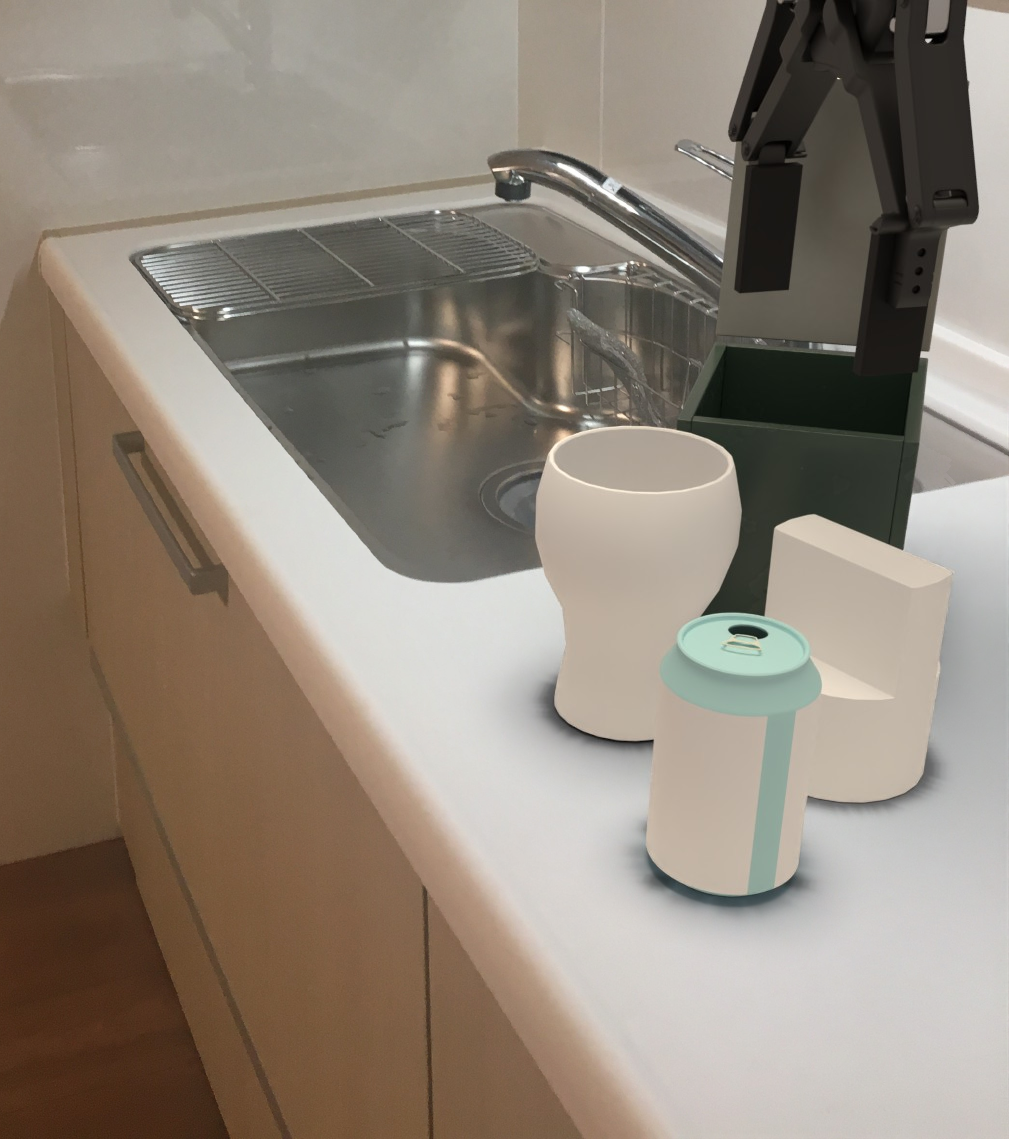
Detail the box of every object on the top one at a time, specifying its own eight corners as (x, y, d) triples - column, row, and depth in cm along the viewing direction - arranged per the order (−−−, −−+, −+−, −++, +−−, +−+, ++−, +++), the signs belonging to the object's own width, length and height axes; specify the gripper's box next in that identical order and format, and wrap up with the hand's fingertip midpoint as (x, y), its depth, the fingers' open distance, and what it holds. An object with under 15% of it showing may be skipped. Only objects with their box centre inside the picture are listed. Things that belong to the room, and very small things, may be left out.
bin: (882, 685, 89) (919, 442, 82) (658, 651, 93) (677, 419, 86) (895, 576, 101) (928, 357, 94) (696, 551, 105) (715, 340, 99)
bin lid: (969, 80, 89) (969, 81, 90) (743, 76, 94) (744, 76, 94) (929, 352, 94) (929, 350, 94) (714, 335, 98) (716, 334, 99)
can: (620, 831, 77) (635, 616, 72) (750, 807, 78) (774, 595, 73) (686, 918, 71) (708, 691, 66) (826, 891, 72) (858, 666, 67)
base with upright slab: (961, 765, 81) (998, 557, 76) (843, 823, 77) (874, 607, 72) (823, 693, 88) (849, 498, 83) (708, 743, 84) (727, 541, 79)
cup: (569, 644, 94) (580, 410, 88) (744, 684, 89) (770, 440, 82) (498, 727, 86) (504, 476, 79) (686, 776, 81) (710, 513, 74)
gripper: (686, -153, 77) (655, 267, 87) (943, -141, 55) (864, 422, 64) (830, -159, 78) (784, 258, 87) (1141, -149, 56) (1035, 408, 65)
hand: (818, 328), depth 76 cm, fingers open, 13 cm apart
